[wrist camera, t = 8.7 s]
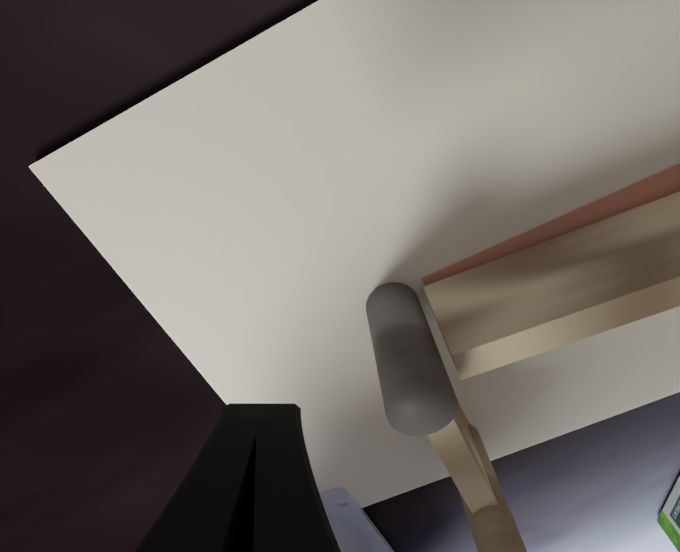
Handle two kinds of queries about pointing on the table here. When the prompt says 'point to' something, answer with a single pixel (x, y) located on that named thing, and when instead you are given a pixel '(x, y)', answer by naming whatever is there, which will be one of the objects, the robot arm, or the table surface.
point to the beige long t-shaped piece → (561, 289)
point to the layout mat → (388, 206)
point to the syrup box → (672, 516)
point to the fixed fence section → (435, 411)
